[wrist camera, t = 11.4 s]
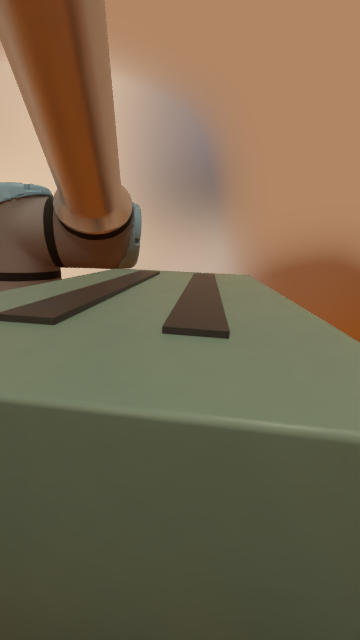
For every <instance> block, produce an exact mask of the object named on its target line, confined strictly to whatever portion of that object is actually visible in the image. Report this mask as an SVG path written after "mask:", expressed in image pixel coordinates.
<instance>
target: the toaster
mask: <svg viewBox="0 0 360 640" xmlns="http://www.w3.org/2000/svg"><path fill="white" fill-rule="evenodd" d="M0 640H360V342H358V341H356V340H355V339H353V338H351V337H350V336H348V335H346V334H345V333H343V332H341V331H340V330H338V329H336V328H335V327H333V326H332V325H330V324H328V323H327V322H325V321H323V320H322V319H320V318H318V317H317V316H315V315H314V314H312V313H310V312H309V311H307V310H305V309H304V308H302V307H300V306H299V305H297V304H295V303H294V302H292V301H290V300H289V299H287V298H285V297H284V296H282V295H281V294H279V293H277V292H276V291H274V290H272V289H271V288H269V287H267V286H266V285H264V284H262V283H261V282H259V281H257V280H256V279H254V278H253V277H251V276H249V275H235V274H215V273H194V272H174V271H154V270H134V269H112V270H107V271H102V272H97V273H92V274H87V275H82V276H77V277H72V278H67V279H62V280H57V281H52V282H47V283H42V284H37V285H32V286H27V287H22V288H16V289H11V290H6V291H1V292H0Z"/></svg>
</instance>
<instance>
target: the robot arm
mask: <svg viewBox="0 0 360 640" xmlns="http://www.w3.org/2000/svg"><path fill="white" fill-rule="evenodd" d="M0 39H1V42H2V45H3V47H4V50H5V52H6V55H7V58H8V61H9V63H10V66H11V68H12V71H13V74H14V76H15V79H16V81H17V84H18V86H19V89H20V92H21V94H22V97H23V100H24V102H25V105H26V107H27V110H28V113H29V115H30V118H31V120H32V123H33V125H34V128H35V131H36V134H37V136H38V139H39V141H40V144H41V147H42V149H43V152H44V154H45V157H46V159H47V162H48V165H49V167H50V170H51V172H52V175H53V178H54V180H55V183H56V185H57V188H58V189H57V191H56V193H55V195H54V198H53V195H52V193H51V191H50V190H49V189H47V188H45V187H42V186H39V185H34V184H22V183H12V182H5V183H0V292H1V291H6V290H11V289H16V288H22V287H27V286H32V285H37V284H42V283H47V282H52V281H57V280H62V279H61V270H60V267H66V268H68V267H71V268H72V267H73V268H102V269H104V268H105V269H124V268H132V267H133V266H135V264H136V263H137V260H138V255H139V248H140V236H141V209H140V206H139V205H138V204H135V203H133V202H132V201H131V197H130V195H129V193H128V191H127V190H126V189H125V188H124V187H123V186H122V185H121V181H120V170H119V159H118V149H117V137H116V126H115V115H114V103H113V92H112V80H111V69H110V58H109V47H108V37H107V25H106V14H105V2H104V0H0Z"/></svg>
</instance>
